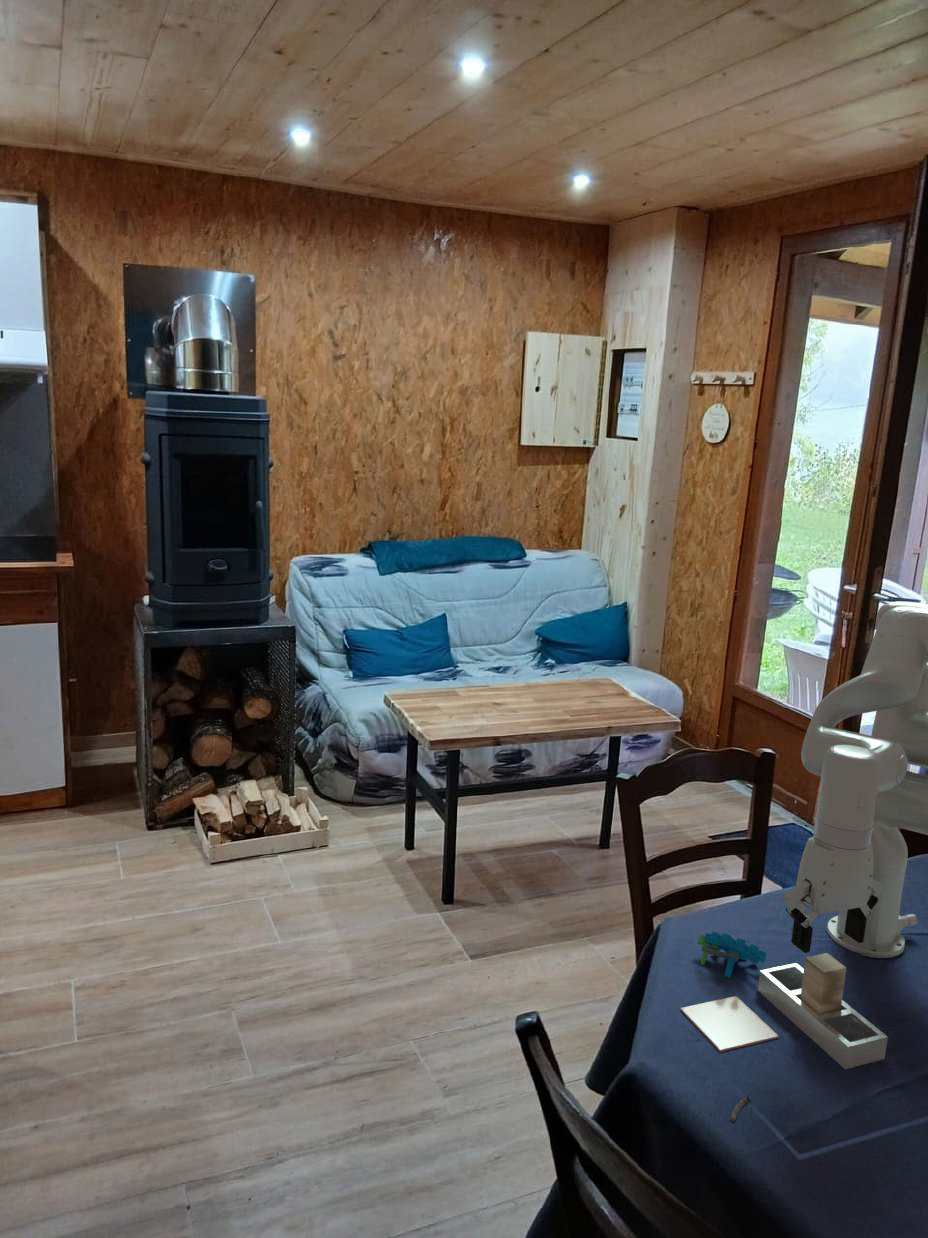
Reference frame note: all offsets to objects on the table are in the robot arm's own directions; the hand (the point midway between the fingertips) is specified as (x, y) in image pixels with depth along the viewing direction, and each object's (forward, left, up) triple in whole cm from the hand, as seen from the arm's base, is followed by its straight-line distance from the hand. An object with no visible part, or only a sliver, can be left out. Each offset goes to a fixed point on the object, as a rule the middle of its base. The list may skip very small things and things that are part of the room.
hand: (827, 943), depth 136 cm
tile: (+12, -4, -14) cm, 19 cm away
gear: (+3, -17, -14) cm, 23 cm away
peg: (-1, 0, -14) cm, 13 cm away
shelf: (-1, 0, -14) cm, 14 cm away
